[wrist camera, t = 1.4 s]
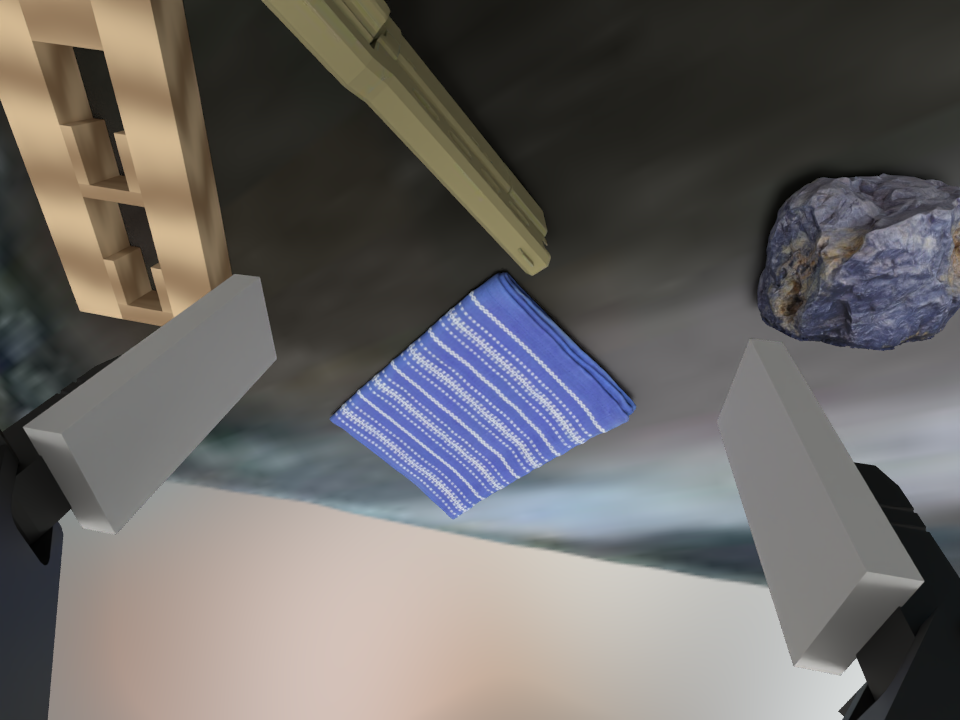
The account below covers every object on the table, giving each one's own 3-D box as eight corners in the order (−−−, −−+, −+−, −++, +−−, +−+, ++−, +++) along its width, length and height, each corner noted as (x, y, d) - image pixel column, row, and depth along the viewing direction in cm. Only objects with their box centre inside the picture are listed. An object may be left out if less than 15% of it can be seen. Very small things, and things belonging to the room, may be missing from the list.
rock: (748, 351, 37) (848, 360, 27) (739, 201, 36) (838, 152, 26) (903, 337, 37) (1064, 341, 26) (897, 186, 36) (1060, 130, 26)
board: (-4, -31, 34) (-50, -35, 32) (180, -8, 33) (148, -10, 30) (106, 295, 47) (80, 311, 45) (240, 320, 46) (220, 337, 44)
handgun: (180, -369, 24) (-29, -461, 13) (537, 135, 43) (572, 265, 32) (132, -278, 25) (-83, -292, 15) (495, 166, 45) (514, 298, 34)
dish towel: (643, 399, 44) (646, 420, 42) (457, 509, 56) (452, 530, 54) (505, 257, 39) (500, 272, 37) (332, 409, 51) (320, 428, 49)
